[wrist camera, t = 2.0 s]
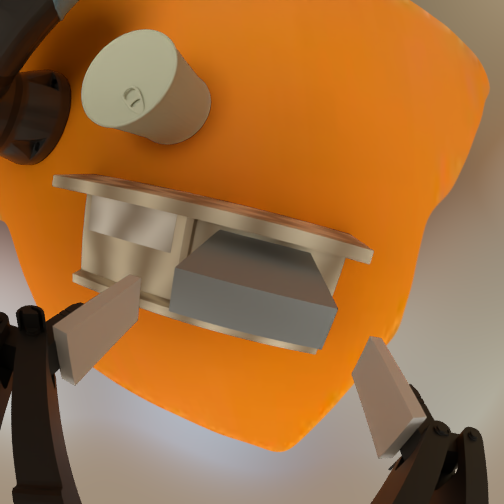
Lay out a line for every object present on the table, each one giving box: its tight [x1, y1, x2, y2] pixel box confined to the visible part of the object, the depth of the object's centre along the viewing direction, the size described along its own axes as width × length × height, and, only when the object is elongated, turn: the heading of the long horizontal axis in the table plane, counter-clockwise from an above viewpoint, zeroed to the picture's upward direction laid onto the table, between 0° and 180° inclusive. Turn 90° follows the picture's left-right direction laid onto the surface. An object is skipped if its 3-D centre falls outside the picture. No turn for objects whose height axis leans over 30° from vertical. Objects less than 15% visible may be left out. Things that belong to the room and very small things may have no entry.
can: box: [81, 29, 211, 144], centre depth 22 cm, size 9×9×12 cm
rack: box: [52, 174, 374, 354], centre depth 28 cm, size 32×14×8 cm, turn 76°
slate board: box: [169, 230, 338, 349], centre depth 23 cm, size 10×3×14 cm, turn 76°
